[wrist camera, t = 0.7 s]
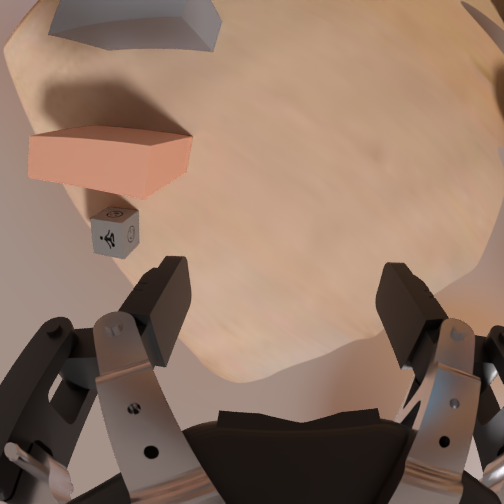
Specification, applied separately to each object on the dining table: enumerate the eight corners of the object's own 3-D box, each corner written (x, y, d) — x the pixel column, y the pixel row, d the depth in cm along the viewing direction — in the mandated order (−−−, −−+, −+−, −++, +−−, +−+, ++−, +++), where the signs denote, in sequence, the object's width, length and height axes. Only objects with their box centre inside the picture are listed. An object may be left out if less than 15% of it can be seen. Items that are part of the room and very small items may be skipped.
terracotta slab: (90, 156, 32) (28, 177, 20) (93, 125, 30) (29, 136, 18) (186, 171, 32) (144, 199, 21) (193, 136, 30) (150, 146, 19)
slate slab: (108, 50, 25) (48, 34, 13) (116, 22, 23) (61, -2, 11) (213, 52, 25) (181, 17, 14) (222, 21, 23) (196, -25, 12)
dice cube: (139, 243, 37) (124, 259, 33) (111, 238, 37) (94, 253, 33) (138, 210, 35) (122, 223, 30) (109, 206, 35) (90, 218, 30)
